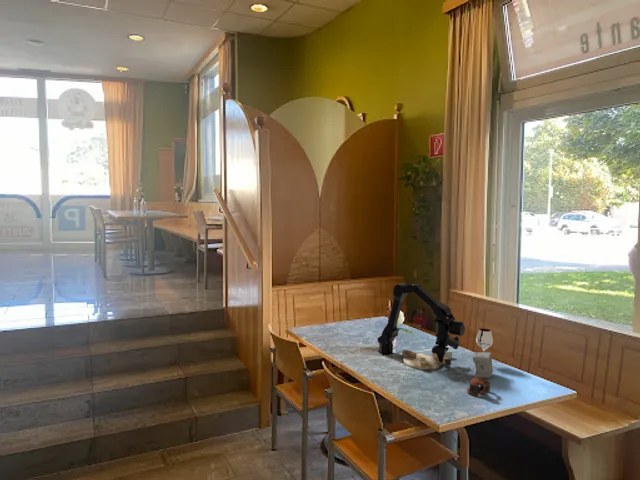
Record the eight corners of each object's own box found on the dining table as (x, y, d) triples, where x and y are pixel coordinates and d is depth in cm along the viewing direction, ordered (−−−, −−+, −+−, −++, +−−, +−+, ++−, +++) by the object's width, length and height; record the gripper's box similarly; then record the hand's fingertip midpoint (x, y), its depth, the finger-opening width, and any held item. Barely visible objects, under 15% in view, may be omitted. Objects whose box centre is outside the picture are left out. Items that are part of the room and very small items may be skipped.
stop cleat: (443, 359, 250) (444, 352, 250) (441, 357, 252) (441, 351, 252) (451, 358, 252) (452, 351, 251) (449, 356, 254) (449, 350, 253)
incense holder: (475, 370, 235) (476, 349, 234) (492, 373, 231) (494, 352, 230) (471, 377, 226) (472, 355, 225) (490, 380, 223) (491, 358, 222)
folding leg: (432, 357, 247) (432, 351, 247) (436, 356, 248) (436, 351, 248) (446, 365, 236) (446, 360, 235) (451, 365, 237) (451, 359, 236)
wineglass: (491, 362, 246) (493, 328, 244) (491, 368, 238) (493, 333, 236) (474, 360, 249) (476, 326, 247) (474, 365, 241) (476, 331, 239)
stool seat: (416, 372, 231) (416, 363, 231) (395, 358, 250) (396, 350, 250) (449, 367, 238) (449, 359, 237) (427, 354, 257) (427, 347, 256)
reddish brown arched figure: (461, 391, 211) (467, 373, 213) (479, 399, 213) (485, 382, 215) (476, 395, 200) (482, 376, 202) (495, 404, 201) (501, 385, 203)
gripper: (456, 339, 224) (454, 371, 226) (462, 329, 241) (460, 359, 242) (432, 335, 229) (430, 367, 230) (440, 326, 246) (438, 355, 247)
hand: (441, 362), depth 237 cm, fingers closed
